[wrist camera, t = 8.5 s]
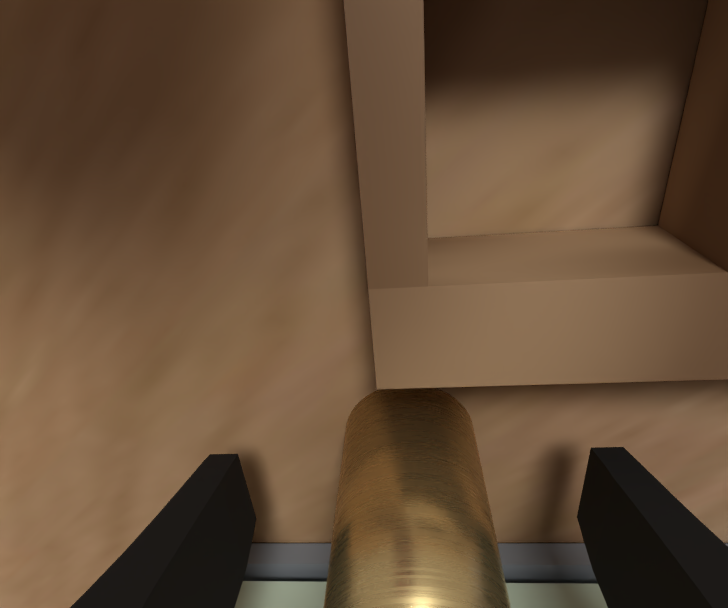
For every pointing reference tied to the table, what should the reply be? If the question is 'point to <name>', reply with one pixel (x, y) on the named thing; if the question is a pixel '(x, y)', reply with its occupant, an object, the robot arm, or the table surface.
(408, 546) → the peg
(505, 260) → the socket board
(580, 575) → the base
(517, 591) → the pale green rectangular block
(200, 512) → the robot arm
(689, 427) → the table surface
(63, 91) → the table surface
